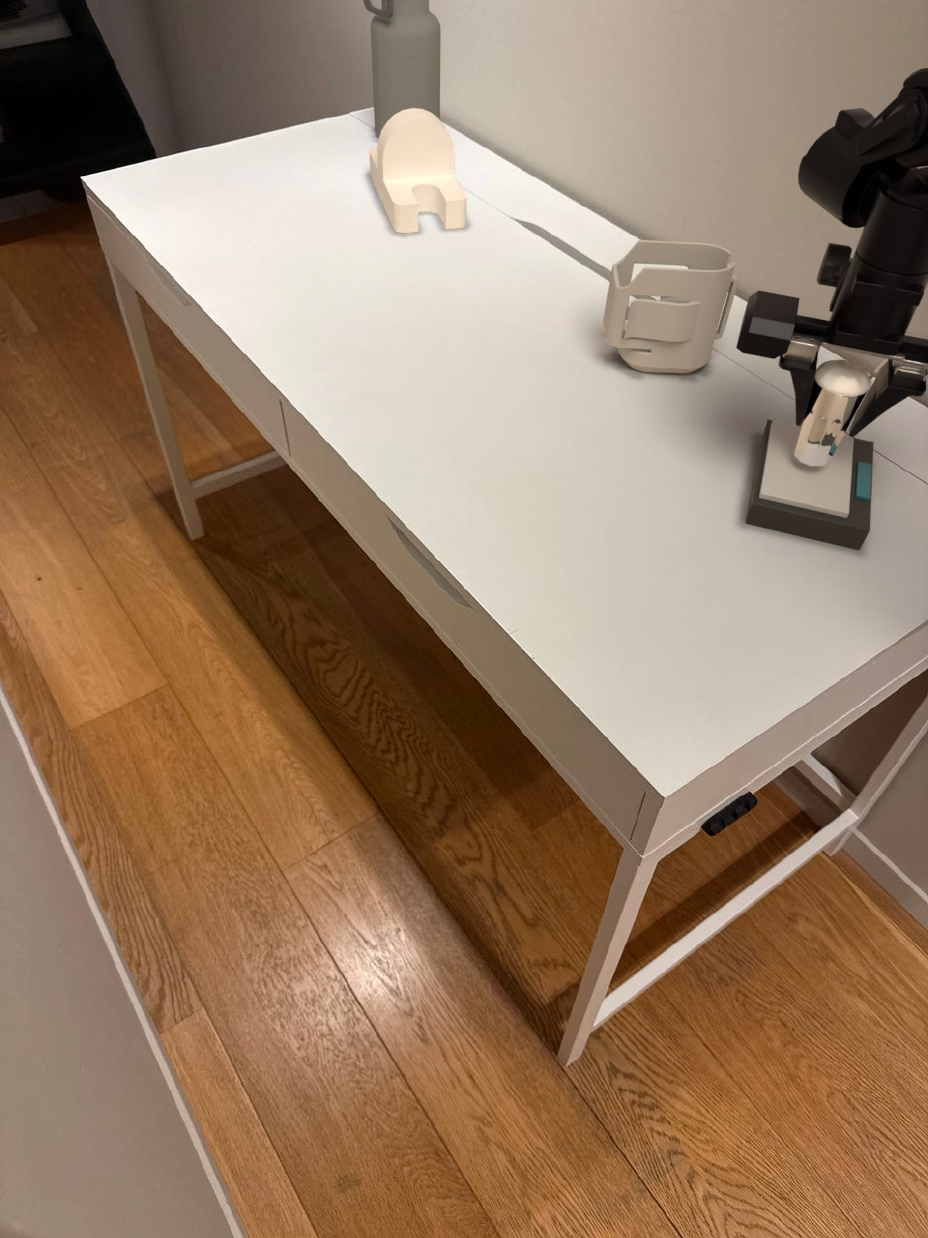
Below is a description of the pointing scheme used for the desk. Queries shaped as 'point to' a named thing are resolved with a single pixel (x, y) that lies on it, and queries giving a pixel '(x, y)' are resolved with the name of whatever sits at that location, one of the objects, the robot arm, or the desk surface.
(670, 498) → the desk surface
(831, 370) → the milkshake
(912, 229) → the robot arm
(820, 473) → the scale
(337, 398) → the desk surface
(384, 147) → the white slotted holder
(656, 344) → the cable organizer
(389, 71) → the water bottle
